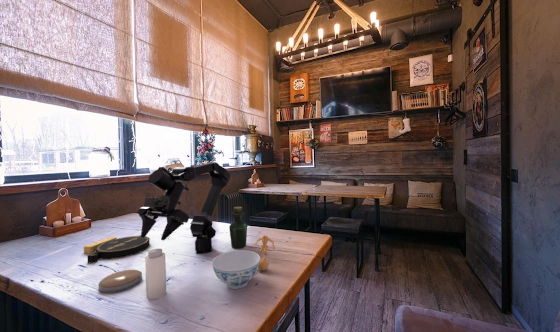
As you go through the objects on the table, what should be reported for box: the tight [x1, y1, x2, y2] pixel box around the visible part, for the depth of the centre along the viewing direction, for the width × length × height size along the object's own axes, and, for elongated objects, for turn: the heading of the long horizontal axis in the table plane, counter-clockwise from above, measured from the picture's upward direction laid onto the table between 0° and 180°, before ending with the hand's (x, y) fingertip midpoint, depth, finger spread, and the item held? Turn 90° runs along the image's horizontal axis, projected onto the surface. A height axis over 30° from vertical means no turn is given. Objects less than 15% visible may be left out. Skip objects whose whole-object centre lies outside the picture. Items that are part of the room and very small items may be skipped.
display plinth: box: [98, 269, 143, 294], centre depth 75 cm, size 12×12×2 cm
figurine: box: [253, 234, 276, 272], centre depth 83 cm, size 8×6×12 cm
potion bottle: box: [229, 206, 248, 250], centre depth 105 cm, size 8×8×18 cm
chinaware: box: [211, 249, 261, 290], centre depth 73 cm, size 15×15×8 cm
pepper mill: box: [144, 248, 167, 301], centre depth 68 cm, size 5×5×13 cm
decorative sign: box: [83, 234, 151, 264], centre depth 105 cm, size 29×3×25 cm
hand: (152, 238), depth 77 cm, fingers open, 9 cm apart
